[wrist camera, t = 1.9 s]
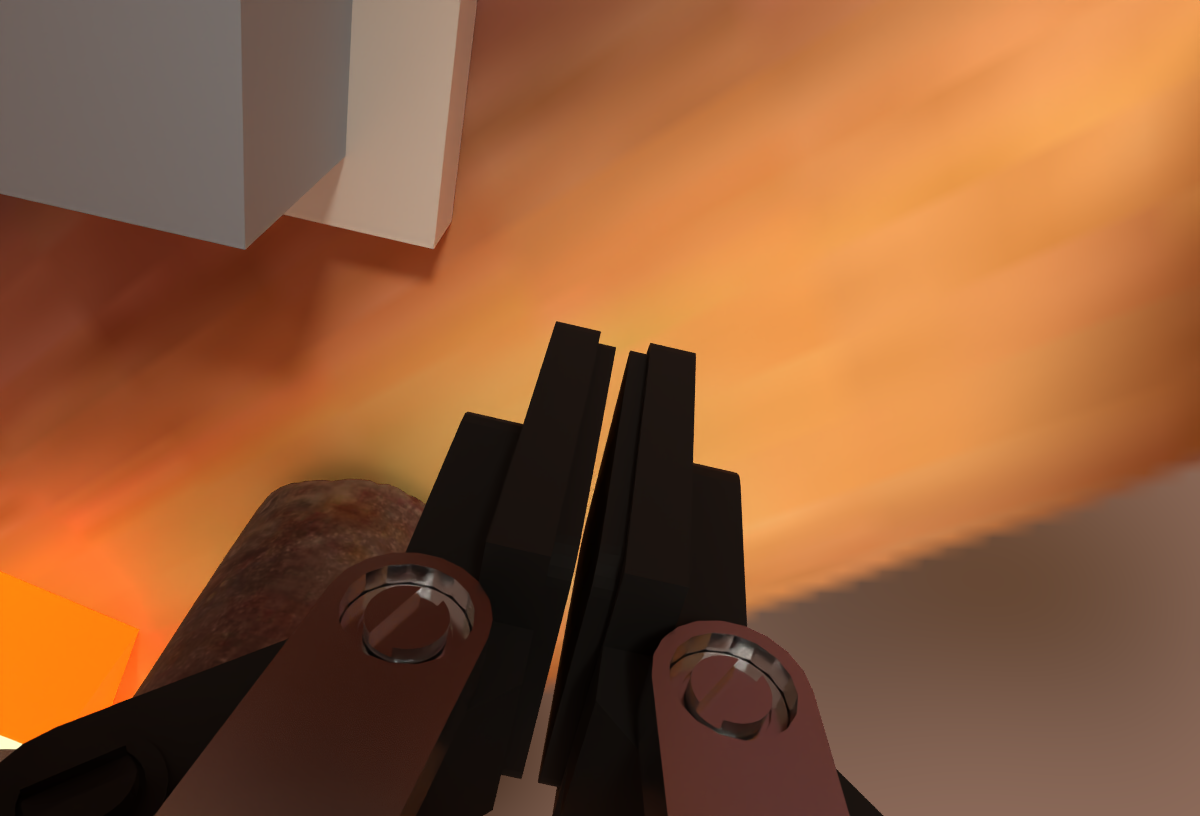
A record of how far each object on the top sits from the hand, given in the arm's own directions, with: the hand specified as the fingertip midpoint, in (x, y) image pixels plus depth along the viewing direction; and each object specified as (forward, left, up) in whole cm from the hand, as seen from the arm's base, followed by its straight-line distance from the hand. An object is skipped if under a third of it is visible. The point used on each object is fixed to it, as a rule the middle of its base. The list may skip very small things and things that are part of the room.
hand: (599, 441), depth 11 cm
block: (0, -11, -13) cm, 17 cm away
